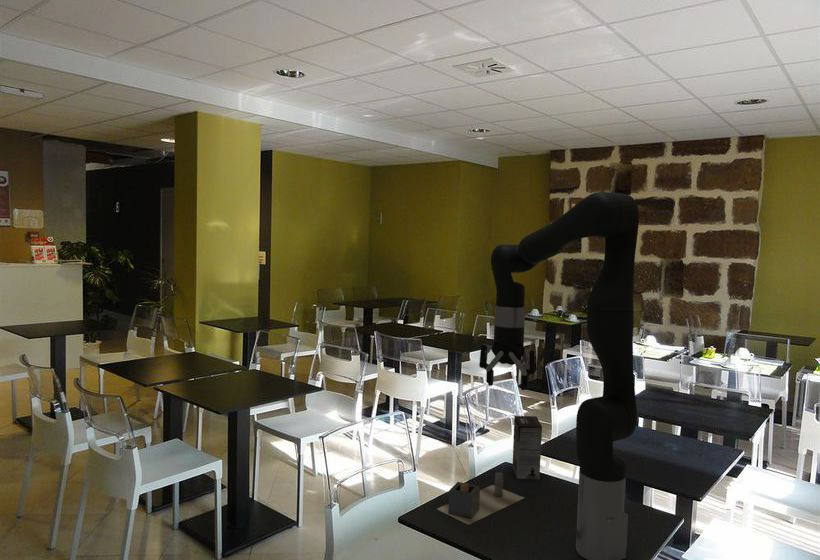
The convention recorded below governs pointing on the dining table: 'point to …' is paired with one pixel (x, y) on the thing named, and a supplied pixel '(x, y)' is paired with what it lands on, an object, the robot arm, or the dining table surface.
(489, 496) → the board
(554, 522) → the dining table surface
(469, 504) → the collar
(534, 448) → the coffee box
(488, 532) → the dining table surface
